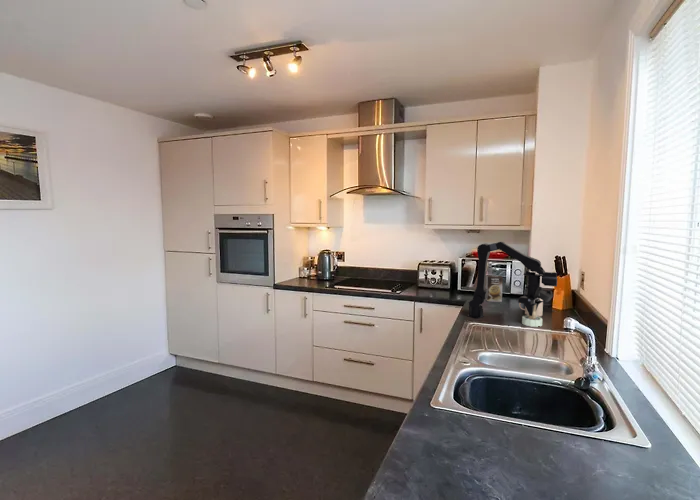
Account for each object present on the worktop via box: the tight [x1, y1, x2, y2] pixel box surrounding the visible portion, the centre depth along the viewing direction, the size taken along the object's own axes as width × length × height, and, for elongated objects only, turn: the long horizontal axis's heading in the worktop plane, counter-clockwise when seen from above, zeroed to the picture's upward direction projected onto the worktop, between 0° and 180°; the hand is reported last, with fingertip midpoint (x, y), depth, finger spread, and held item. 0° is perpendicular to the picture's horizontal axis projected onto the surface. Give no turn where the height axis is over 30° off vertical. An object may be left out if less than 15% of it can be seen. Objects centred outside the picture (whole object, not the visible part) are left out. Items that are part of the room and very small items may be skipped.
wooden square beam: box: [529, 305, 536, 320], centre depth 188 cm, size 2×2×8 cm
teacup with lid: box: [518, 298, 544, 318], centre depth 206 cm, size 12×9×12 cm
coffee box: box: [485, 274, 504, 303], centre depth 239 cm, size 9×6×16 cm
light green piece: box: [521, 315, 543, 328], centre depth 188 cm, size 9×9×3 cm
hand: (532, 315), depth 188 cm, fingers closed on wooden square beam, 2 cm apart
